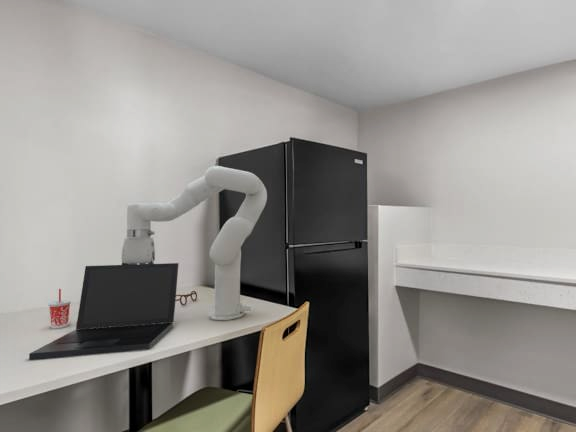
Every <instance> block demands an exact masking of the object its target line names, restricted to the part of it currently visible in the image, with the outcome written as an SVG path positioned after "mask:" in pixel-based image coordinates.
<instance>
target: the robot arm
mask: <svg viewBox="0 0 576 432" xmlns="http://www.w3.org/2000/svg"><path fill="white" fill-rule="evenodd" d="M224 190H227V191H233V192H239V193H242V194H245V198H244V200H243V201H242V203H241V205H240V206H239V208H238V211H237V212H236V213H235V215H234V216H232V217H230V218H228V219H227V220H226V221H225V223H224V224H223V225H222V227H221V229H220V230H219V233H218V234H217V236H216V238H215V239H214V241H213V243H212V244H211V247H210V248H209V258H210V260H211V261H212V263H214V311H213V312H212V313H211V314H210V315H209V316H210V319H211V320H213V321H229V320H235V319H239V318H241V317H243V316H244V315H245V312H252V305H244V304H242V302H241V261H242V249H241V248H242V246H243V245H244V243H245V240H246V239H247V238H248V237H249V236H250V235H251V234H252V232H253V230H254V227H255V225H256V224H257V222H258V220H259V218H260V216H261V214H262V212H263V211H264V209H265V206H266V205H267V201H268V191H267V188H266V186H265V185H264V183H263V181H262V180H261V179H260V178H259V177H258V176H257V175H256V174H255V173H253V172H250V171H246V170H241V169H237V168H230V167H225V166H221V165H213V166H209V168H207V170H206V171H205V173H204V175H202V176H201V177H198V178H197V179H195V180H194V181H192V182H189V183H187V185H186V186H185V188H184V190H183V191H182V192H181V193H180V194H179V195H178V196H176V197H174V198H173V199H170V200H169V201H166V202H160V201H159V202H150V203H149V202H129V203H128V204H127V209H126V237H125V238H123V239H124V240H123V243H122V248H121V258H120V259H121V265H135V264H155V261H156V249H155V240H154V237H151V236H154V235H155V233H156V232H155V231H154V230H152V229H151V224H152V222H156V223H159V222H161V223H163V222H171V221H174V220H176V219H177V218H179V217H181V216H183V215H185V214H186V213H188V212H190V211H192V209H194V208H196V207H197V206H199V205H200V204H201V203H203V202H204V201H206V200H208V199H209V198H212V197H213V196H215V195H217V194H218V193H220V192H222V191H224Z"/></svg>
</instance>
